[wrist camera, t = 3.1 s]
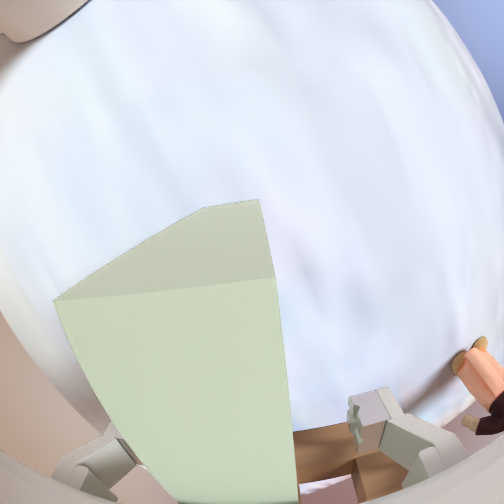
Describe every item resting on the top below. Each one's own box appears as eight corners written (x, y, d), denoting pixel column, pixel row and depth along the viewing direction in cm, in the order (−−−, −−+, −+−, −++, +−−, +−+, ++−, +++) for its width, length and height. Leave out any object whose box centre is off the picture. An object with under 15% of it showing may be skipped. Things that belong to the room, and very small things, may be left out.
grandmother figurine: (491, 318, 17) (578, 394, 4) (493, 344, 17) (566, 417, 5) (428, 373, 18) (501, 479, 5) (435, 394, 18) (495, 489, 6)
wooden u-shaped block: (241, 454, 20) (237, 526, 12) (235, 437, 19) (229, 516, 12) (389, 427, 19) (416, 490, 12) (395, 408, 19) (428, 475, 11)
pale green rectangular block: (203, 207, 15) (52, 300, 3) (259, 198, 14) (275, 276, 3) (244, 402, 18) (237, 552, 6) (285, 398, 18) (301, 549, 6)
